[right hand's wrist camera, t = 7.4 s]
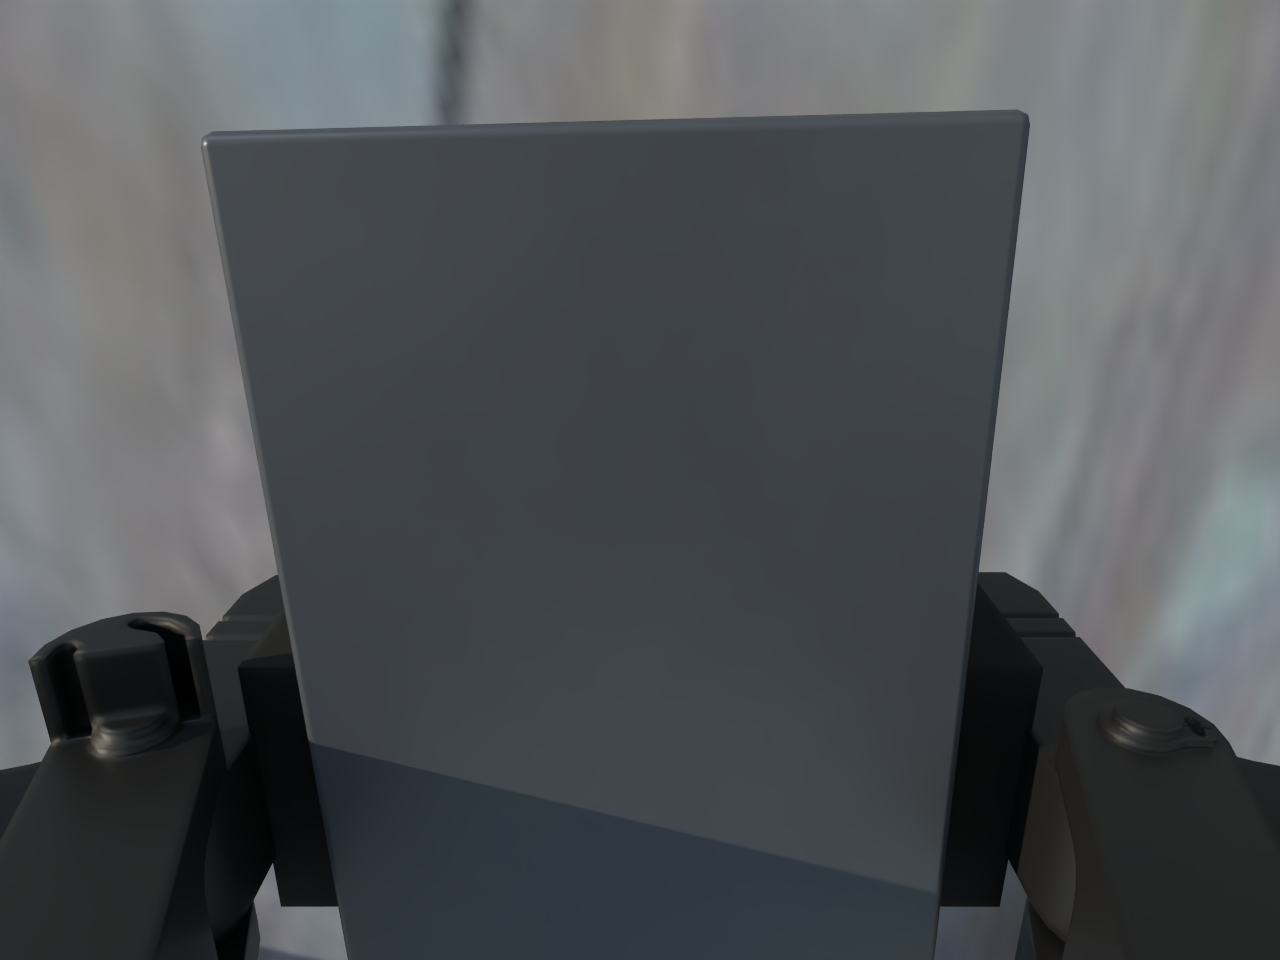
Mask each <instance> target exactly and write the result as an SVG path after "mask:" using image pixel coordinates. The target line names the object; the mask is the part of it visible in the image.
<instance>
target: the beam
mask: <svg viewBox="0 0 1280 960" xmlns="http://www.w3.org/2000/svg"><path fill="white" fill-rule="evenodd" d="M1029 128H1030V123H1029V117H1028V115H1027V114H1026V113H1024V112H1021V111H1019V110H988V111H951V112H915V113H878V114H841V115H805V116H768V117H731V118H695V119H658V120H621V121H585V122H548V123H511V124H475V125H438V126H401V127H365V128H328V129H291V130H255V131H218V132H211V133H209V134H207V135H205V136H204V137H203V138H202V143H201V150H202V155H203V161H204V166H205V172H206V177H207V183H208V188H209V194H210V199H211V205H212V211H213V216H214V222H215V227H216V233H217V238H218V244H219V249H220V255H221V260H222V266H223V271H224V277H225V282H226V288H227V293H228V299H229V304H230V310H231V316H232V321H233V327H234V332H235V338H236V343H237V349H238V354H239V360H240V365H241V371H242V376H243V382H244V387H245V393H246V398H247V404H248V409H249V415H250V420H251V426H252V432H253V437H254V443H255V448H256V454H257V459H258V465H259V470H260V476H261V481H262V487H263V492H264V498H265V503H266V509H267V514H268V520H269V525H270V531H271V537H272V542H273V548H274V553H275V559H276V564H277V570H278V575H279V581H280V586H281V592H282V597H283V603H284V608H285V614H286V619H287V625H288V630H289V636H290V642H291V647H292V653H293V658H294V664H295V669H296V675H297V680H298V686H299V691H300V697H301V702H302V708H303V713H304V719H305V724H306V730H307V735H308V741H309V747H310V752H311V758H312V763H313V769H314V774H315V780H316V785H317V791H318V796H319V802H320V807H321V813H322V818H323V824H324V829H325V835H326V840H327V846H328V852H329V857H330V863H331V868H332V874H333V879H334V885H335V890H336V896H337V901H338V907H339V912H340V918H341V923H342V929H343V934H344V940H345V945H346V951H347V957H348V960H934V954H935V945H936V936H937V928H938V919H939V910H940V902H941V893H942V884H943V876H944V867H945V858H946V849H947V841H948V832H949V823H950V815H951V806H952V797H953V789H954V780H955V771H956V763H957V754H958V745H959V736H960V728H961V719H962V710H963V702H964V693H965V684H966V676H967V667H968V658H969V649H970V641H971V632H972V623H973V615H974V606H975V597H976V589H977V580H978V571H979V562H980V554H981V545H982V536H983V528H984V519H985V510H986V502H987V493H988V484H989V476H990V467H991V458H992V449H993V441H994V432H995V423H996V415H997V406H998V397H999V389H1000V380H1001V371H1002V362H1003V354H1004V345H1005V336H1006V328H1007V319H1008V310H1009V302H1010V293H1011V284H1012V275H1013V267H1014V258H1015V249H1016V241H1017V232H1018V223H1019V215H1020V206H1021V197H1022V189H1023V180H1024V171H1025V162H1026V154H1027V145H1028V136H1029Z"/></svg>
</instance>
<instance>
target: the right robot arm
mask: <svg viewBox="0 0 1280 960" xmlns="http://www.w3.org/2000/svg"><path fill="white" fill-rule="evenodd" d="M28 662H29V665H30V669H31V672H32V676H33V680H34V683H35V687H36V690H37V694H38V698H39V701H40V705H41V708H42V712H43V716H44V719H45V723H46V726H47V730H48V734H49V737H50V741H51V745H50V747H49V749H48V751H47V752H46V754H45V756H44V758H43V760H42V762H38V763H34V764H30V765H25V766H20V767H14V768H9V769H4V770H0V960H257V959H258V951H259V944H260V934H259V927H258V920H257V915H256V910H255V905H254V898H255V896H256V894H257V892H258V890H259V888H260V886H261V884H262V883H263V881H264V879H265V877H266V875H267V873H268V871H269V869H270V867H271V865H272V863H273V865H274V870H275V876H276V881H277V887H278V892H279V898H280V903H281V906H338V901H337V896H336V890H335V885H334V879H333V874H332V868H331V863H330V857H329V852H328V846H327V840H326V835H325V829H324V824H323V818H322V813H321V807H320V802H319V796H318V791H317V785H316V780H315V774H314V769H313V763H312V758H311V752H310V747H309V741H308V735H307V730H306V724H305V719H304V713H303V708H302V702H301V697H300V691H299V686H298V680H297V675H296V669H295V664H294V658H293V653H292V647H291V642H290V636H289V630H288V625H287V619H286V614H285V608H284V603H283V597H282V592H281V586H280V581H279V575H275V576H274V577H272V578H270V579H269V580H267V581H265V582H263V583H262V584H260V585H258V586H256V587H255V588H253V589H251V590H249V591H248V592H246V593H244V594H242V596H241V597H240V598H239V599H238V600H237V601H236V602H235V603H234V605H233V606H232V607H231V608H230V609H229V610H228V611H227V613H226V614H225V615H224V616H223V620H222V621H219V622H218V623H217V624H216V625H215V626H214V627H213V628H212V629H211V631H210V632H209V633H208V634H207V635H206V640H202V636H201V631H200V626H199V624H197V623H196V622H194V621H193V620H191V619H190V618H189V617H187V616H184V615H179V614H173V613H168V612H143V613H131V614H126V615H121V616H116V617H111V618H106V619H102V620H99V621H96V622H93V623H90V624H88V625H85V626H82V627H79V628H76V629H73V630H71V631H69V632H67V633H65V634H64V635H62V636H60V637H58V638H56V639H55V640H53V641H51V642H49V643H47V644H45V645H44V646H43V647H42V648H41V649H40V650H39V651H38V652H37V653H36V654H35V655H34V656H33V657H32V658H31V659H30V660H29V661H28ZM1008 859H1009V861H1010V863H1011V865H1012V867H1013V869H1014V871H1015V873H1016V875H1017V876H1018V878H1019V880H1020V882H1021V884H1022V886H1023V888H1024V890H1025V892H1026V894H1027V900H1026V905H1025V910H1024V915H1023V920H1022V925H1021V930H1020V935H1019V940H1018V945H1017V951H1016V956H1015V960H1280V766H1277V765H1272V764H1266V763H1261V762H1256V761H1251V760H1247V759H1243V758H1239V757H1237V756H1236V755H1235V753H1234V751H1233V749H1232V747H1231V745H1230V743H1229V742H1228V741H1227V739H1226V738H1225V737H1224V736H1223V735H1222V733H1221V732H1220V731H1219V730H1218V729H1217V728H1216V726H1215V725H1214V724H1212V723H1211V722H1209V721H1208V720H1206V719H1205V718H1203V717H1202V716H1200V715H1199V714H1197V713H1196V712H1194V711H1193V710H1191V709H1190V708H1188V707H1185V706H1183V705H1180V704H1178V703H1176V702H1173V701H1171V700H1168V699H1166V698H1164V697H1161V696H1158V695H1154V694H1150V693H1146V692H1141V691H1137V690H1133V689H1128V688H1125V687H1124V686H1123V685H1122V684H1121V683H1120V682H1119V680H1118V679H1117V678H1116V677H1115V676H1114V675H1113V674H1112V673H1111V672H1110V670H1109V669H1108V668H1107V667H1106V666H1105V665H1104V664H1103V663H1102V662H1101V660H1100V659H1099V658H1098V657H1097V656H1096V655H1095V654H1094V653H1093V651H1092V650H1091V649H1090V648H1089V647H1088V646H1087V645H1086V644H1085V643H1084V641H1083V640H1082V639H1081V638H1080V637H1076V636H1075V631H1074V630H1073V629H1072V628H1071V627H1070V626H1069V625H1068V624H1067V622H1066V621H1065V620H1064V619H1063V618H1059V614H1058V612H1057V611H1056V610H1055V609H1054V608H1053V607H1052V606H1051V605H1050V603H1049V602H1048V601H1047V600H1046V599H1045V598H1044V597H1043V596H1042V595H1041V593H1040V592H1039V591H1037V590H1035V589H1034V588H1032V587H1030V586H1028V585H1027V584H1025V583H1023V582H1021V581H1020V580H1018V579H1016V578H1014V577H1013V576H1011V575H1009V574H1007V573H1006V572H978V580H977V589H976V597H975V606H974V615H973V623H972V632H971V641H970V649H969V658H968V667H967V676H966V684H965V693H964V702H963V710H962V719H961V728H960V736H959V745H958V754H957V763H956V771H955V780H954V789H953V797H952V806H951V815H950V823H949V832H948V841H947V849H946V858H945V867H944V876H943V884H942V893H941V902H940V906H955V907H1000V901H1001V896H1002V891H1003V885H1004V880H1005V874H1006V869H1007V863H1008Z"/></svg>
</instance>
